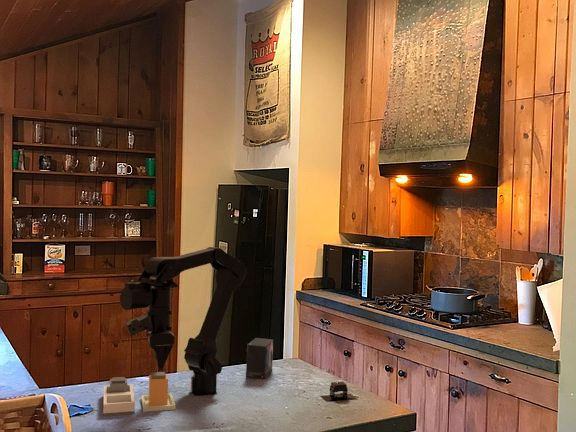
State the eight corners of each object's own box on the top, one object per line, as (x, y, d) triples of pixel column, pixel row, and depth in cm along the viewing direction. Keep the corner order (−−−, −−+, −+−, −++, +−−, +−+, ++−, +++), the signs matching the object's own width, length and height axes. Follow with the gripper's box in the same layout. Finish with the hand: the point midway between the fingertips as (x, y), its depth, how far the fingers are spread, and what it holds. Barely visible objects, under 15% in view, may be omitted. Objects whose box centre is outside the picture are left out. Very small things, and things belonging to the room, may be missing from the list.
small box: (265, 379, 187) (266, 345, 187) (245, 378, 188) (245, 344, 188) (273, 370, 197) (274, 338, 197) (253, 369, 199) (254, 337, 198)
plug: (165, 400, 163) (166, 371, 163) (167, 406, 159) (168, 375, 159) (148, 402, 162) (149, 372, 162) (149, 407, 157) (150, 376, 157)
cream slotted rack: (132, 396, 168) (132, 374, 168) (134, 415, 153) (134, 391, 153) (103, 398, 166) (104, 375, 166) (103, 418, 151) (103, 393, 150)
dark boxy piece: (353, 394, 176) (354, 378, 176) (364, 402, 169) (364, 385, 169) (313, 397, 172) (313, 381, 172) (322, 405, 166) (322, 388, 165)
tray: (171, 399, 166) (171, 393, 166) (175, 411, 157) (175, 405, 157) (141, 401, 164) (141, 395, 164) (143, 413, 154) (143, 407, 154)
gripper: (126, 300, 167) (126, 357, 167) (129, 313, 149) (128, 376, 149) (168, 299, 170) (167, 355, 170) (175, 311, 152) (174, 373, 152)
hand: (158, 364), depth 160 cm, fingers open, 9 cm apart
